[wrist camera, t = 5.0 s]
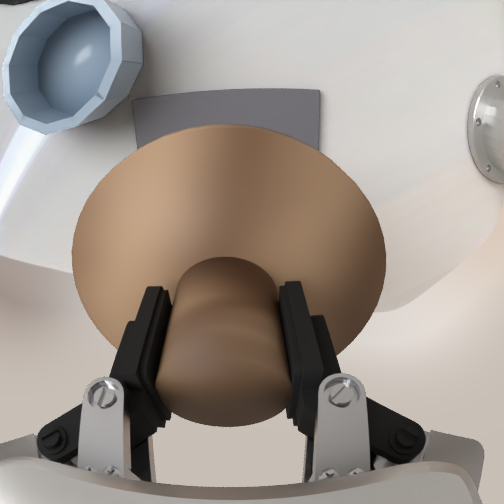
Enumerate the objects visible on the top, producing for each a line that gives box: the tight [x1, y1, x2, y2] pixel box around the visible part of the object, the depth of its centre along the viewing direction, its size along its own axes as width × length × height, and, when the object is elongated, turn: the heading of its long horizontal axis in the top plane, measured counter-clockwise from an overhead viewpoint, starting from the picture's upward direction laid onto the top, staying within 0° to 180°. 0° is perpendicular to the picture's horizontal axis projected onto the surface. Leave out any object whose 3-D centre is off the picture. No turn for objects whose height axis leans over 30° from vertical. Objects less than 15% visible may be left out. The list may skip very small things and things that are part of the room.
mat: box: [132, 89, 320, 150], centre depth 25 cm, size 15×15×1 cm
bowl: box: [2, 0, 143, 135], centre depth 17 cm, size 11×11×5 cm
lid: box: [72, 124, 386, 427], centre depth 10 cm, size 13×13×6 cm
